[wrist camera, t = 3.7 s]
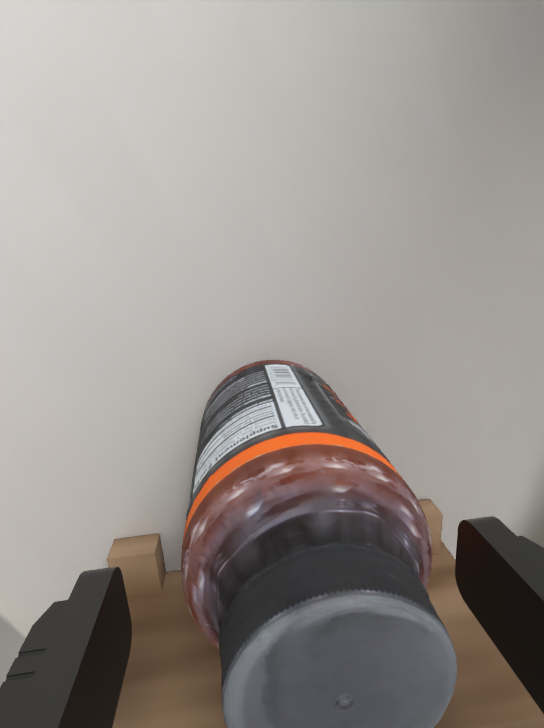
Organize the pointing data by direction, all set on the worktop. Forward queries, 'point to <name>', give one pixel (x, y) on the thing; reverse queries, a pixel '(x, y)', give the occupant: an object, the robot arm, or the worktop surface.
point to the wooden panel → (203, 664)
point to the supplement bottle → (310, 563)
